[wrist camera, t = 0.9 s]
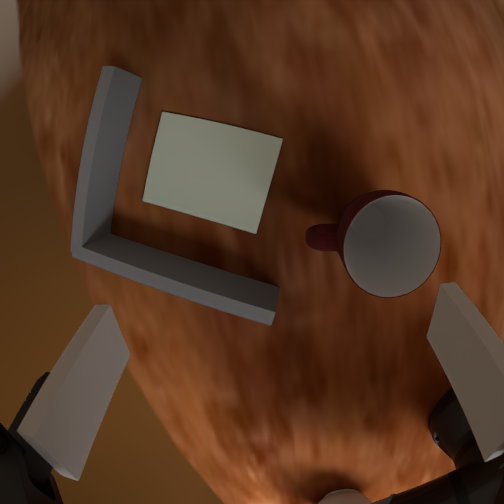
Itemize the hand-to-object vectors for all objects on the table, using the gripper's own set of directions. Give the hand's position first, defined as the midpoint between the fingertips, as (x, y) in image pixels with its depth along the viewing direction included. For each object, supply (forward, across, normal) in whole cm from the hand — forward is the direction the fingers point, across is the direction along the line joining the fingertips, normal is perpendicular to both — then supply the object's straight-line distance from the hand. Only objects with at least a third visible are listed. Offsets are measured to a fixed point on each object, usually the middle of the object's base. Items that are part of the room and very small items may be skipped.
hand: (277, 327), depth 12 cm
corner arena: (+23, +7, -1) cm, 24 cm away
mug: (+21, -8, +4) cm, 23 cm away
